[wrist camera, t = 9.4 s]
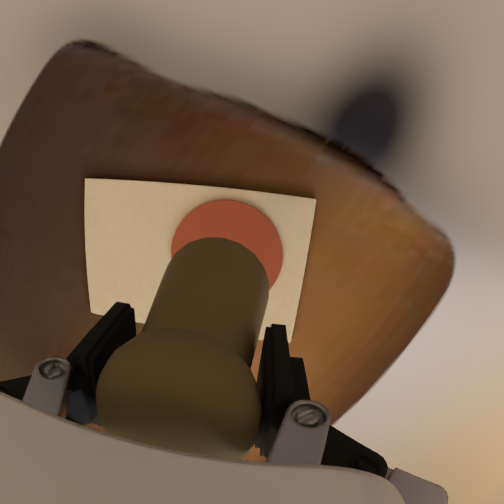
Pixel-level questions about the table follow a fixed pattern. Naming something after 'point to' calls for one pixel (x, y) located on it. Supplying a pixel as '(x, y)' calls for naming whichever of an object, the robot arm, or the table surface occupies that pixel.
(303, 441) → the robot arm
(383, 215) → the table surface
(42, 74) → the table surface
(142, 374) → the cork
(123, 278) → the placemat
